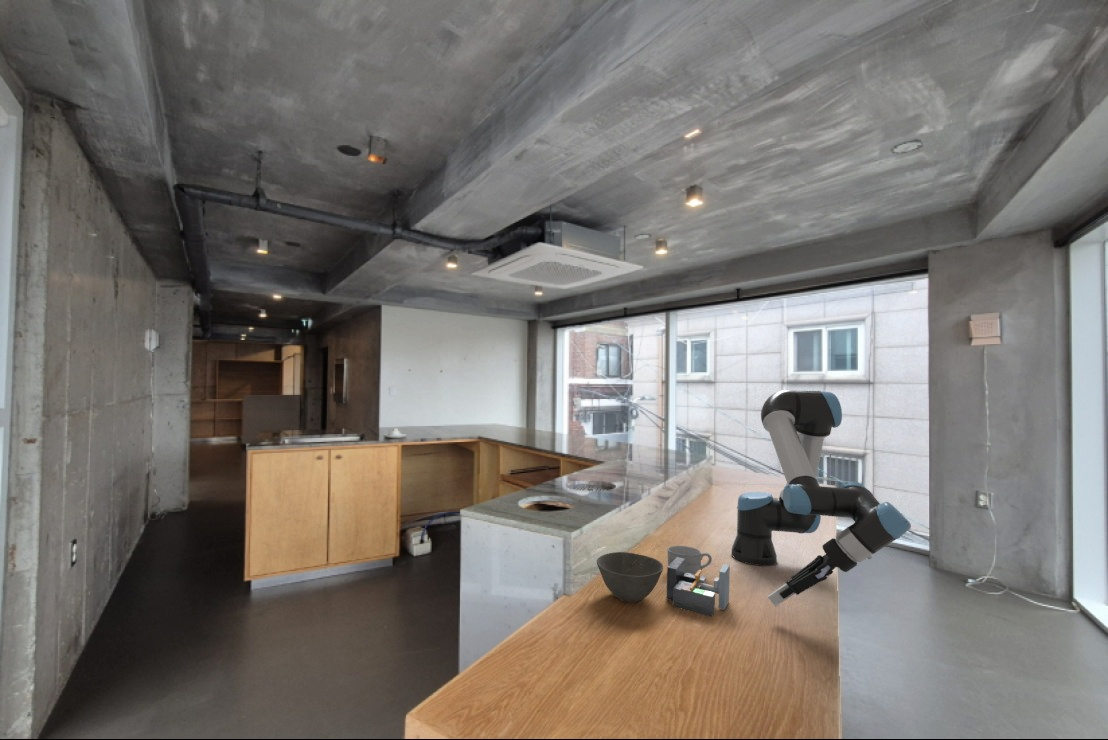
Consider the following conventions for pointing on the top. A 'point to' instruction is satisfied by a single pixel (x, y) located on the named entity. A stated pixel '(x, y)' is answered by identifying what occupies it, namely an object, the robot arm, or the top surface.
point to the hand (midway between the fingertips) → (772, 600)
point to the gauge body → (688, 590)
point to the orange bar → (696, 579)
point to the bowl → (629, 574)
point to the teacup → (688, 558)
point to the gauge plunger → (720, 586)
